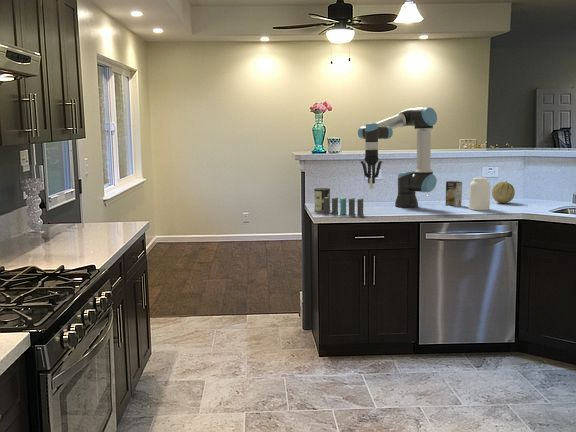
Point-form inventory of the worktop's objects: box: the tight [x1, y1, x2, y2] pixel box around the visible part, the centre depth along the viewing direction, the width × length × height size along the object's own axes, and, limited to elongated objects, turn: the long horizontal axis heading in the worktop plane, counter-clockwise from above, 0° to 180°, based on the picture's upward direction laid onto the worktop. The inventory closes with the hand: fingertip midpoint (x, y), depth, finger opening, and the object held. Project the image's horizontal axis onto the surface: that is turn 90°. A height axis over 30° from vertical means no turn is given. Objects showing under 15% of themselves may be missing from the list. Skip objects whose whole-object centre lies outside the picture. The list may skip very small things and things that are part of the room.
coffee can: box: [313, 187, 331, 213], centre depth 394 cm, size 10×10×14 cm
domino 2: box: [331, 197, 339, 215], centre depth 377 cm, size 2×5×10 cm, turn 154°
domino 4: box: [356, 198, 364, 217], centre depth 370 cm, size 2×5×10 cm, turn 154°
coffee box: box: [445, 180, 463, 207], centre depth 409 cm, size 9×6×16 cm
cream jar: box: [468, 177, 491, 211], centre depth 387 cm, size 12×12×20 cm
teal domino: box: [339, 197, 347, 216], centre depth 375 cm, size 2×5×10 cm, turn 154°
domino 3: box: [348, 197, 356, 216], centre depth 373 cm, size 2×5×10 cm, turn 154°
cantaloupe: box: [491, 180, 516, 204], centre depth 416 cm, size 15×15×15 cm
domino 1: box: [323, 196, 331, 215], centre depth 380 cm, size 2×5×10 cm, turn 154°
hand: (371, 188), depth 366 cm, fingers closed
